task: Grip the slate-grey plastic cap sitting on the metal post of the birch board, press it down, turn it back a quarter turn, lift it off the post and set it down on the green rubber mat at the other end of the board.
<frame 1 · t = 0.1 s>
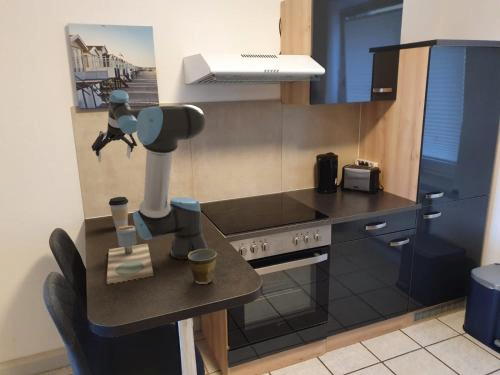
hand: (113, 158, 183), 36 cm above the countertop, tool tilted 35°, fingers open, 13 cm apart
cap: (127, 243, 158), point 5 cm above the countertop, touching bayonet board
ceramic cup: (201, 279, 137), on the countertop
coffee cup: (121, 227, 195), on the countertop
bayonet board: (129, 263, 152), on the countertop
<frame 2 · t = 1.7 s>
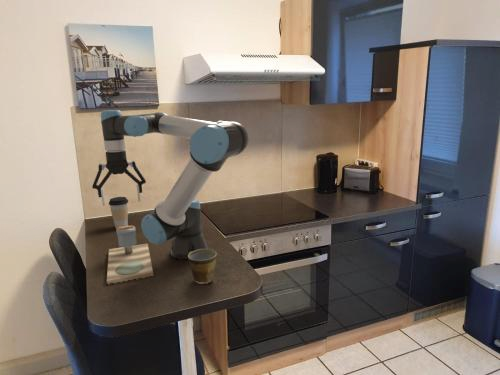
hand: (121, 202, 155), 23 cm above the countertop, tool pointing down, fingers open, 13 cm apart
nothing on the countertop moved.
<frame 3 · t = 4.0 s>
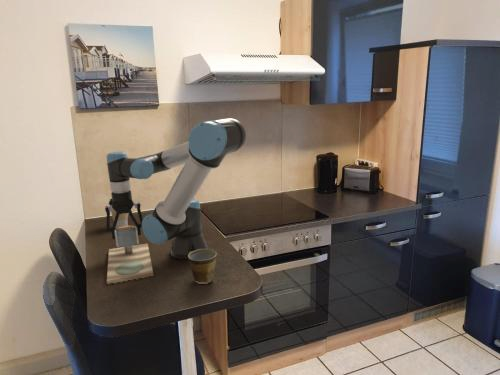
hand: (127, 244, 158), 5 cm above the countertop, tool pointing down, fingers closed on cap, 7 cm apart
cap: (127, 243, 158), point 5 cm above the countertop, touching bayonet board, gripper
everything else where it was.
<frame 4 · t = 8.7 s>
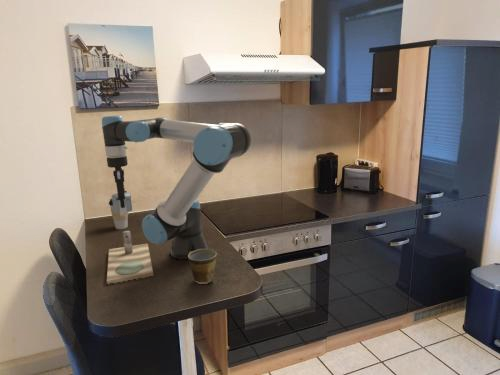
hand: (123, 212, 155), 19 cm above the countertop, tool pointing down, fingers closed on cap, 7 cm apart
cap: (123, 210, 155), point 20 cm above the countertop, touching gripper
everything else where it was.
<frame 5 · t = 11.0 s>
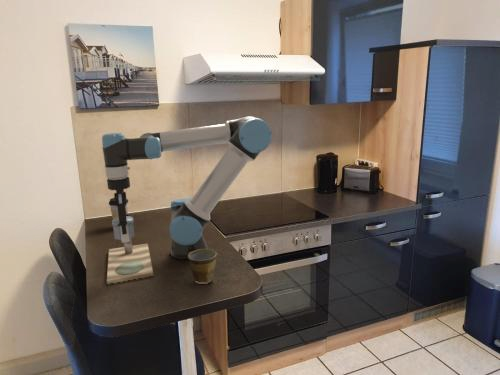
hand: (125, 237, 141), 14 cm above the countertop, tool pointing down, fingers closed on cap, 7 cm apart
cap: (124, 236, 141), point 15 cm above the countertop, touching gripper
everything else where it was.
when the fingers open (4 cm above the countertop, at t = 13.2 s): cap drops 2 cm, resting on bayonet board.
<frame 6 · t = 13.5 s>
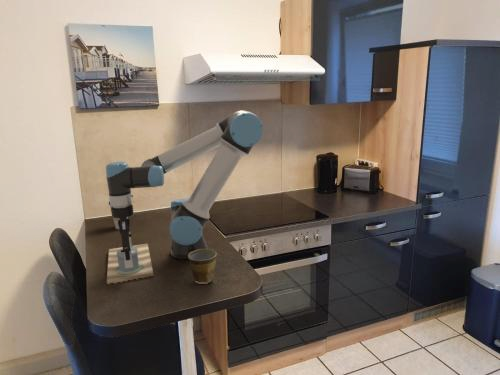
hand: (128, 260, 144), 5 cm above the countertop, tool pointing down, fingers open, 12 cm apart
cap: (129, 267, 144), point 2 cm above the countertop, touching bayonet board
everything else where it was.
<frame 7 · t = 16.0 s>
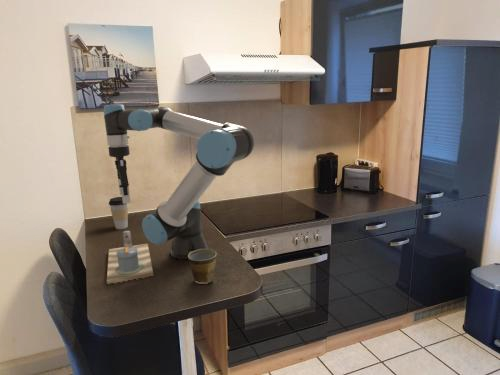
hand: (125, 198, 153), 25 cm above the countertop, tool pointing down, fingers open, 13 cm apart
nothing on the countertop moved.
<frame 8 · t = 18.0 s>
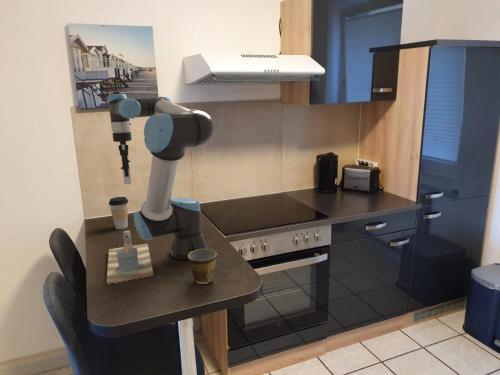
hand: (127, 180, 167), 29 cm above the countertop, tool pointing down, fingers open, 13 cm apart
nothing on the countertop moved.
at the end: cap 0.2 cm from the target spot, point 2.0 cm above the countertop; cap tilted 0°; the gripper is holding nothing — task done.
